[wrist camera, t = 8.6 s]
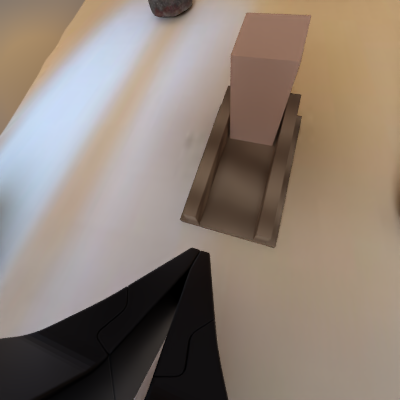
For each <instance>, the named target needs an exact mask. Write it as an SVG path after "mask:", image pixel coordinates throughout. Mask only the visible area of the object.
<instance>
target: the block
mask: <svg viewBox="0 0 400 400" xmlns="http://www.w3.org/2000/svg"><path fill="white" fill-rule="evenodd" d="M310 19H311V15H289V14H266V13H246V16H245V18H244V21H243V24H242V26H241V29H240V32H239V35H238V37H237V40H236V43H235V45H234V48H233V51H232V53H231V83H230V138H231V139H237V140H242V141H248V142H253V143H259V144H264V145H270V146H272V145H273V142H274V139H275V136H276V133H277V130H278V128H279V125H280V122H281V119H282V116H283V113H284V110H285V107H286V104H287V101H288V98H289V95H290V92H291V89H292V86H293V83H294V80H295V77H296V74H297V72H298V69H299V66H300V63H301V59H302V54H303V50H304V45H305V41H306V37H307V32H308V28H309V23H310Z"/></svg>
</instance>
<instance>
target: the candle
mask: <svg viewBox="0 0 400 400" xmlns="http://www.w3.org/2000/svg"><path fill="white" fill-rule="evenodd" d="M148 1H149V5H150V8H151V11H152V13H153V14H154V15H155V16H158V17H162V16H176V15H178V14H180V13H182V12H183V11H186V10H187V9H188V8H189V7H190V6H192V0H148Z"/></svg>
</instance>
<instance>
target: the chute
mask: <svg viewBox="0 0 400 400" xmlns="http://www.w3.org/2000/svg"><path fill="white" fill-rule="evenodd" d="M300 98H301V95H300V94H292V93H290V95H289V98H288V101H287V104H286V107H285V110H284V113H283V116H282V119H281V122H280V125H279V128H278V130H277V133H276V136H275V139H274V142H273V145H272V146H270V145H264V144H259V143H253V142H248V141H242V140H237V139H231V138H230V86H228V88H227V91H226V94H225V96H224V99H223V102H222V105H221V106H220V108H219V111H218V114H217V117H216V120H215V122H214V125H213V128H212V131H211V134H210V137H209V139H208V142H207V145H206V148H205V151H204V153H203V156H202V159H201V162H200V165H199V167H198V170H197V173H196V176H195V179H194V182H193V184H192V187H191V190H190V193H189V196H188V198H187V201H186V204H185V207H184V210H183V213H182V215H181V218H180V220H181V221H183V222H186V223H190V224H193V225H197V226H200V227H203V228H207V229H210V230H214V231H217V232H221V233H224V234H228V235H231V236H235V237H238V238H241V239H245V240H248V241H252V242H255V243H259V244H262V245H266V246H269V247H272V248H274V247H276V242H277V237H278V232H279V227H280V222H281V217H282V212H283V207H284V202H285V197H286V192H287V187H288V182H289V177H290V172H291V167H292V162H293V157H294V152H295V147H296V142H297V138H298V133H299V128H300V123H301V118H302V116H297V113H298V108H299V103H300Z"/></svg>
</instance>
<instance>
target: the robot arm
mask: <svg viewBox="0 0 400 400" xmlns="http://www.w3.org/2000/svg"><path fill="white" fill-rule="evenodd" d="M166 336H167V337H166ZM165 338H166V340H165ZM164 340H165V343H164V345H163V348H162V351H161V354H160V357H159V360H158V363H157V366H156V369H155V372H154V375H153V378H152V381H151V384H150V386H149V389H148V392H147V394H146V397H145V399H144V400H228V397H227V392H226V387H225V382H224V377H223V373H222V368H221V363H220V357H219V351H218V344H217V336H216V325H215V314H214V302H213V289H212V277H211V264H210V254H209V253H207V252H204V251H200V250H198V249H195V248H190V249H188V250H187V251H185V252H183V253H182V254H180V255H178V256H177V257H175V258H173V259H172V260H170V261H168V262H167V263H165V264H163V265H162V266H160V267H158V268H157V269H155V270H153V271H152V272H150V273H148V274H147V275H145V276H143V277H142V278H140V279H138V280H137V281H135V282H134V283H132V284H130V285H129V286H128V287H125V288H123V289H122V290H120V291H118V292H117V293H115V294H113V295H111V296H110V297H108V298H106V299H104V300H102V301H100V302H98V303H96V304H94V305H93V306H91V307H89V308H86V309H84V310H82V311H80V312H78V313H76V314H74V315H72V316H70V317H68V318H66V319H64V320H62V321H60V322H58V323H56V324H53V325H51V326H49V327H47V328H45V329H42V330H40V331H37V332H34V333H31V334H28V335H23V336H18V337H10V338H2V339H0V400H133V399H134V397H135V396H136V394H137V392H138V390H139V388H140V386H141V384H142V382H143V380H144V378H145V376H146V374H147V373H148V371H149V369H150V367H151V365H152V363H153V361H154V359H155V357H156V355H157V353H158V352H159V350H160V348H161V346H162V344H163V342H164Z"/></svg>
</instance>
